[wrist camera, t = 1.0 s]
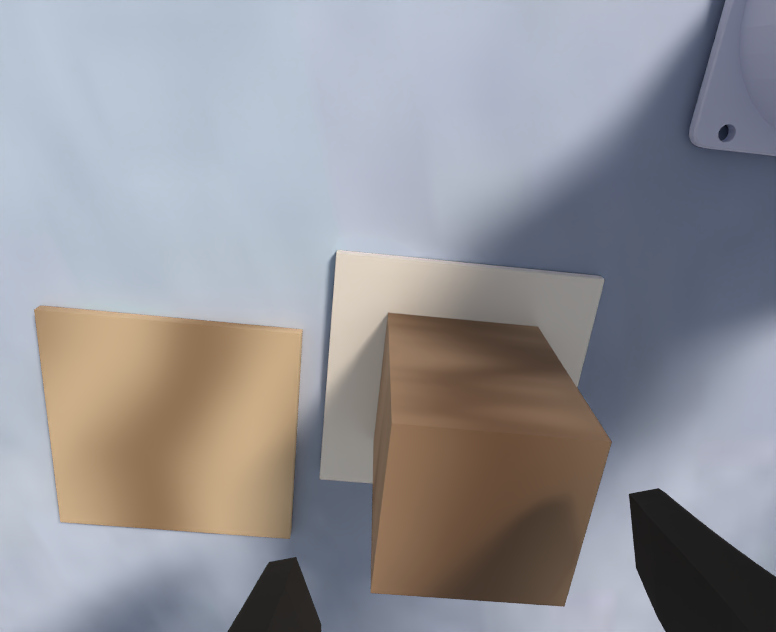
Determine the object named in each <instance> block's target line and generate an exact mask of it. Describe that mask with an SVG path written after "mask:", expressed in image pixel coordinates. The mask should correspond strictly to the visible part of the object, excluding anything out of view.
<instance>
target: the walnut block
mask: <svg viewBox="0 0 776 632" xmlns="http://www.w3.org/2000/svg"><path fill="white" fill-rule="evenodd" d="M611 443H612V442H611V440H610V438H609V437H608V435H607V434H606V432H605V431H604V429H603V427H602V426H601V424H600V423H599V421H598V420H597V418H596V417H595V415H594V413H593V412H592V410H591V409H590V407H589V406H588V404H587V402H586V401H585V399H584V398H583V396H582V395H581V393H580V392H579V390H578V388H577V387H576V385H575V384H574V382H573V381H572V379H571V377H570V376H569V374H568V373H567V371H566V370H565V368H564V366H563V365H562V363H561V362H560V360H559V359H558V357H557V356H556V354H555V352H554V351H553V349H552V348H551V346H550V345H549V343H548V341H547V340H546V338H545V337H544V335H543V334H542V332H541V331H540V329H539V327H537V326H526V325H515V324H505V323H494V322H483V321H473V320H462V319H451V318H441V317H430V316H419V315H409V314H398V313H388V318H387V327H386V335H385V344H384V353H383V362H382V371H381V380H380V389H379V397H378V406H377V415H376V424H375V433H374V442H373V494H372V547H371V593H378V594H392V595H407V596H421V597H435V598H450V599H464V600H478V601H493V602H507V603H521V604H536V605H550V606H565V602H566V599H567V596H568V592H569V589H570V585H571V582H572V578H573V575H574V571H575V568H576V564H577V561H578V557H579V554H580V550H581V547H582V543H583V540H584V537H585V533H586V530H587V526H588V523H589V519H590V516H591V512H592V509H593V505H594V502H595V498H596V495H597V491H598V488H599V484H600V481H601V477H602V474H603V471H604V467H605V464H606V460H607V457H608V453H609V450H610V446H611Z"/></svg>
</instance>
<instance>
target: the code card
mask: <svg viewBox="0 0 776 632" xmlns="http://www.w3.org/2000/svg"><path fill="white" fill-rule="evenodd" d="M604 280H605V279H604V278H602V277H601V276H597V275H587V274H576V273H566V272H556V271H546V270H536V269H526V268H515V267H505V266H495V265H485V264H475V263H465V262H455V261H444V260H434V259H424V258H414V257H404V256H394V255H383V254H373V253H363V252H353V251H343V250H337V253H336V266H335V279H334V292H333V306H332V319H331V332H330V345H329V359H328V372H327V385H326V398H325V412H324V425H323V438H322V451H321V465H320V478H319V479H322V480H334V481H347V482H360V483H372V484H373V442H374V433H375V424H376V415H377V406H378V397H379V389H380V380H381V371H382V362H383V353H384V344H385V335H386V327H387V318H388V313H398V314H409V315H419V316H430V317H441V318H451V319H462V320H473V321H483V322H494V323H505V324H515V325H526V326H537V327H539V329H540V331H541V332H542V334H543V335H544V337H545V338H546V340H547V341H548V343H549V345H550V346H551V348H552V349H553V351H554V352H555V354H556V356H557V357H558V359H559V360H560V362H561V363H562V365H563V366H564V368H565V370H566V371H567V373H568V374H569V376H570V377H571V379H572V381H573V382H574V384H575V385H576V387H578V383H579V379H580V375H581V371H582V368H583V364H584V360H585V356H586V352H587V348H588V344H589V340H590V336H591V332H592V328H593V324H594V320H595V316H596V312H597V308H598V304H599V300H600V296H601V292H602V288H603V284H604Z"/></svg>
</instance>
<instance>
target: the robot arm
mask: <svg viewBox="0 0 776 632" xmlns="http://www.w3.org/2000/svg"><path fill="white" fill-rule="evenodd" d="M724 125H727V126H728V128H729V133H728V135H727V137H726V138H725V139H723V140H722V141H720V139H719V137H718V132H719V130H720V129H721V127H723V126H724ZM689 137H690V140H691V142H692V143H693V144H694V145H695V146H698V147H701V148H707V149H716V150H725V151H734V152H743V153H752V154H761V155H770V156H776V0H725V4H724V8H723V11H722V15H721V18H720V22H719V25H718V29H717V33H716V36H715V40H714V43H713V47H712V50H711V54H710V58H709V61H708V65H707V68H706V72H705V75H704V79H703V82H702V86H701V90H700V93H699V97H698V100H697V104H696V107H695V111H694V115H693V118H692V122H691V125H690V129H689ZM629 499H630V509H631V520H632V530H633V541H634V551H635V562H636V569H637V571H638V574H639V576H640V578H641V581H642V583H643V585H644V588H645V590H646V592H647V595H648V597H649V599H650V601H651V604H652V606H653V608H654V610H655V613H656V615H657V617H658V619H659V621H660V622H661V624H662V626H663V628H664V630H665V631H666V632H776V577H775V576H774V575H772V574H771V573H769V572H768V571H767V570H765V569H764V568H762V567H761V566H759V565H758V564H757V563H755V562H754V561H752V560H751V559H750V558H748V557H747V556H746V555H744V554H743V553H741V552H740V551H739V550H737V549H736V548H735V547H733V546H732V545H731V544H729V543H728V542H726V541H725V540H724V539H723V538H721V537H720V536H719V535H717V534H716V533H715V532H713V531H712V530H711V529H710V528H708V527H707V526H706V525H704V524H703V523H702V522H701V521H699V520H698V519H697V518H696V517H694V516H693V515H692V514H691V513H689V512H688V511H687V510H686V509H684V508H683V507H682V506H681V505H679V504H678V503H677V502H676V501H675V500H673V499H672V498H671V497H670V496H669V495H667V494H666V493H665V492H663V491H662V490H660V489H659V488H657V489H652V490H647V491H642V492H636V493H631V494H629ZM228 632H321V623H320V620H319V617H318V615H317V612H316V609H315V607H314V604H313V601H312V599H311V596H310V593H309V590H308V588H307V585H306V582H305V580H304V577H303V574H302V572H301V569H300V566H299V564H298V561H297V558H296V557H294V558H289V559H283V560H278V561H273V562H269V563H268V565H267V566H266V568H265V569H264V571H263V573H262V574H261V576H260V578H259V580H258V581H257V583H256V585H255V586H254V588H253V590H252V592H251V593H250V595H249V597H248V598H247V600H246V602H245V604H244V605H243V607H242V609H241V610H240V612H239V614H238V615H237V617H236V619H235V620H234V622H233V624H232V625H231V627H230V628H229V630H228Z"/></svg>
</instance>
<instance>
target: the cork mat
mask: <svg viewBox="0 0 776 632" xmlns="http://www.w3.org/2000/svg"><path fill="white" fill-rule="evenodd" d="M34 312H35V320H36V328H37V336H38V345H39V353H40V361H41V369H42V377H43V385H44V393H45V401H46V409H47V417H48V425H49V433H50V441H51V449H52V457H53V465H54V473H55V482H56V490H57V498H58V506H59V514H60V522H67V523H81V524H95V525H108V526H122V527H135V528H149V529H162V530H176V531H190V532H203V533H217V534H230V535H244V536H257V537H271V538H285V539H290V535H291V527H292V509H293V491H294V474H295V456H296V438H297V420H298V403H299V385H300V367H301V349H302V332H303V330H302V329H291V328H280V327H269V326H259V325H248V324H237V323H226V322H215V321H204V320H193V319H182V318H171V317H160V316H149V315H138V314H127V313H116V312H105V311H95V310H84V309H73V308H62V307H51V306H39V307H38V308H36V309H35V310H34Z"/></svg>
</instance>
